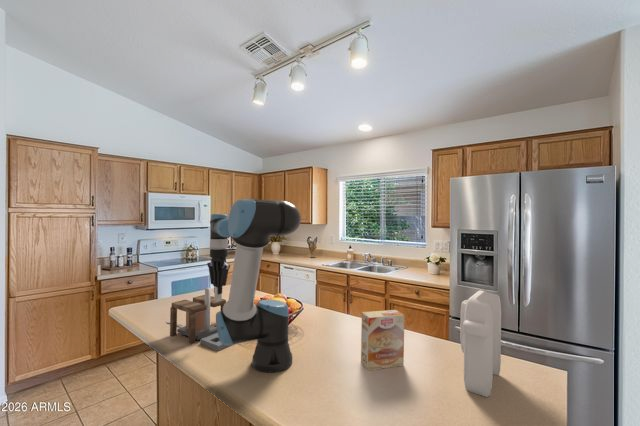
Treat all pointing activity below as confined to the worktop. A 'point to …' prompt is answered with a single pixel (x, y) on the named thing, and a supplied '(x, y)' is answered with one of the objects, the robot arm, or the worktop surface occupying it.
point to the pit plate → (213, 342)
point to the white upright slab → (481, 341)
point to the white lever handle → (201, 321)
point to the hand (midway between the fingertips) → (217, 300)
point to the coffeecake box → (382, 339)
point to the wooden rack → (190, 313)
